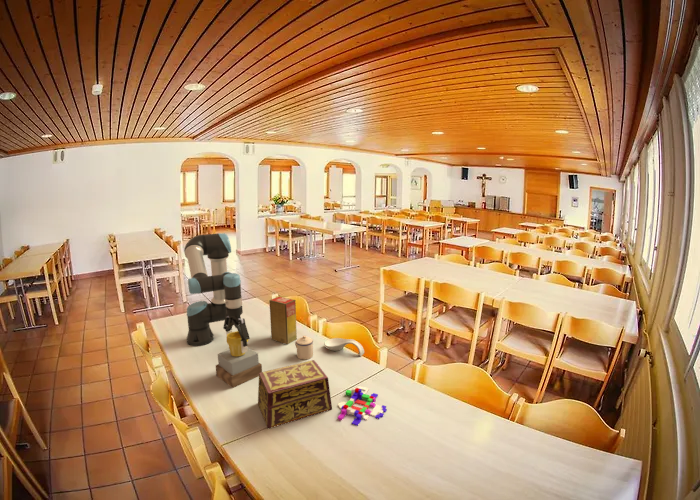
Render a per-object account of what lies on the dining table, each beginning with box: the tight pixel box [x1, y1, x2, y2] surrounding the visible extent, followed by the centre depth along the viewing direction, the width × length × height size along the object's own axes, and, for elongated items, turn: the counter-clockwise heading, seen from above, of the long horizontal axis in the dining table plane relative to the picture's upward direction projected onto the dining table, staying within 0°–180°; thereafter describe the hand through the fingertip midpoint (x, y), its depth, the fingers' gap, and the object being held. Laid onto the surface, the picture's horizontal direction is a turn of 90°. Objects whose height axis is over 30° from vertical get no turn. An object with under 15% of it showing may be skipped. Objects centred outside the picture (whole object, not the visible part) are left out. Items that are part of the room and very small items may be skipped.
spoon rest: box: [323, 337, 365, 357], centre depth 208 cm, size 24×12×7 cm, turn 62°
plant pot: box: [226, 330, 249, 357], centre depth 180 cm, size 10×10×10 cm
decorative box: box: [257, 359, 333, 429], centre depth 157 cm, size 28×19×15 cm
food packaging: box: [269, 295, 298, 345], centre depth 220 cm, size 13×9×25 cm
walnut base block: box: [215, 362, 263, 389], centre depth 183 cm, size 16×16×6 cm
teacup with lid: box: [294, 335, 314, 361], centre depth 202 cm, size 12×9×12 cm
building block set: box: [337, 385, 388, 427], centre depth 158 cm, size 25×20×4 cm
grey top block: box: [217, 346, 260, 375], centre depth 182 cm, size 14×14×6 cm
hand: (237, 347), depth 180 cm, fingers open, 13 cm apart
